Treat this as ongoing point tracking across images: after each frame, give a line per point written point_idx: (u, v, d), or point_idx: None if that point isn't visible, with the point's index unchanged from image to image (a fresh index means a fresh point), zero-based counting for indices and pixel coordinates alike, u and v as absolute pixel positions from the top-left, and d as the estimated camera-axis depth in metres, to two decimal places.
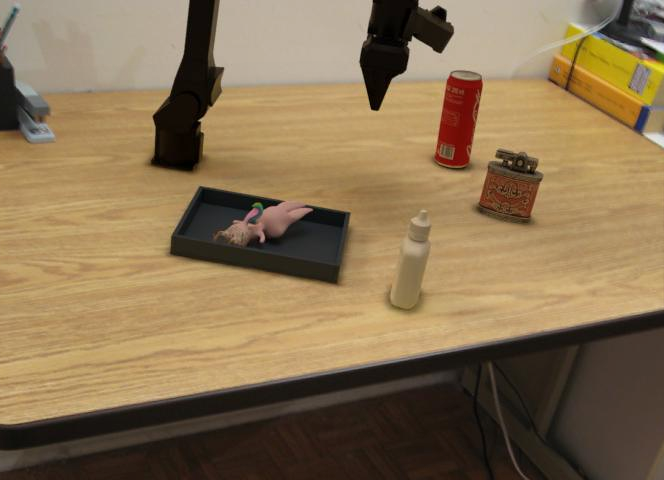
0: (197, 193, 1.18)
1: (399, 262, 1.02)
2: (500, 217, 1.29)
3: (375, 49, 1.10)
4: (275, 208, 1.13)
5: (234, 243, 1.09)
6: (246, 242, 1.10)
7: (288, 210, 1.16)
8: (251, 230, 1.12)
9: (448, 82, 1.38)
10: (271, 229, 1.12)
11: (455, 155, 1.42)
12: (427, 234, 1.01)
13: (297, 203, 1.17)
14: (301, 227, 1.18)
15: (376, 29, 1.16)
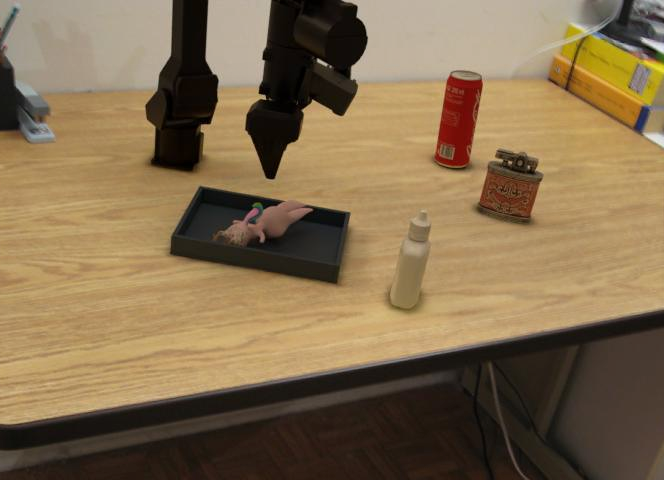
0: (197, 193, 1.18)
1: (399, 262, 1.02)
2: (500, 217, 1.29)
3: (262, 115, 0.97)
4: (275, 208, 1.13)
5: (234, 243, 1.09)
6: (246, 242, 1.10)
7: (288, 210, 1.16)
8: (251, 230, 1.12)
9: (448, 82, 1.38)
10: (271, 229, 1.12)
11: (455, 155, 1.42)
12: (427, 234, 1.01)
13: (297, 203, 1.17)
14: (301, 227, 1.18)
15: (268, 89, 1.02)
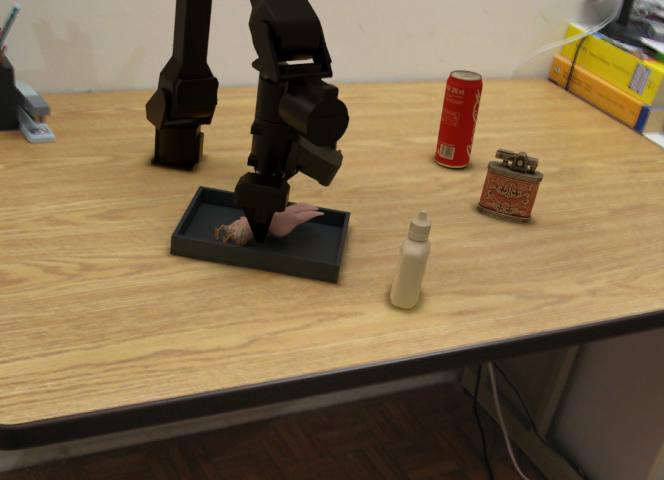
0: (197, 193, 1.18)
1: (399, 262, 1.02)
2: (500, 217, 1.29)
3: (249, 189, 1.01)
4: None
5: (233, 238, 1.10)
6: (246, 238, 1.11)
7: (297, 212, 1.15)
8: None
9: (448, 82, 1.38)
10: (275, 228, 1.13)
11: (455, 155, 1.42)
12: (427, 234, 1.01)
13: (309, 206, 1.17)
14: (301, 227, 1.18)
15: (256, 161, 1.06)
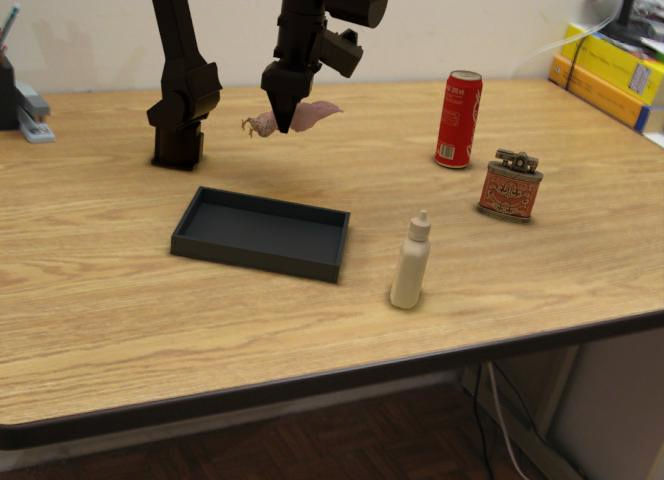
0: (197, 193, 1.18)
1: (399, 262, 1.02)
2: (500, 217, 1.29)
3: (276, 74, 1.07)
4: (305, 103, 1.20)
5: (258, 128, 1.17)
6: (271, 129, 1.18)
7: (319, 108, 1.22)
8: None
9: (448, 82, 1.38)
10: (298, 121, 1.19)
11: (455, 155, 1.42)
12: (427, 234, 1.01)
13: (330, 104, 1.23)
14: (301, 227, 1.18)
15: (282, 53, 1.13)
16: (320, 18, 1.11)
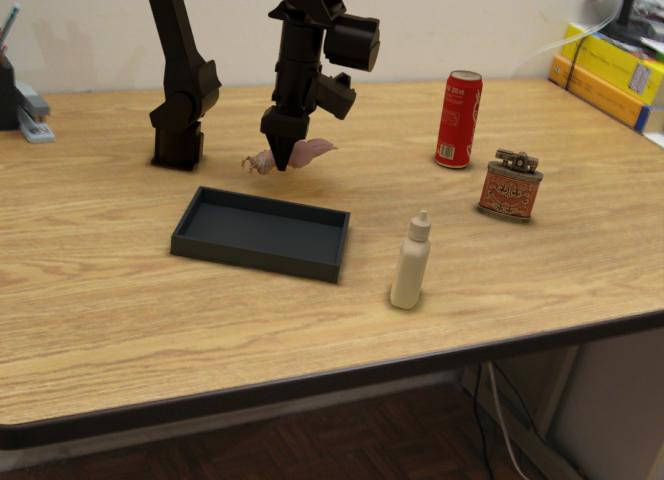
0: (197, 193, 1.18)
1: (399, 262, 1.02)
2: (500, 217, 1.29)
3: (274, 119, 1.14)
4: (301, 142, 1.27)
5: (258, 167, 1.24)
6: (269, 167, 1.25)
7: (315, 146, 1.29)
8: None
9: (448, 82, 1.38)
10: (295, 159, 1.26)
11: (455, 155, 1.42)
12: (427, 234, 1.01)
13: (325, 141, 1.30)
14: (301, 227, 1.18)
15: (279, 97, 1.20)
16: (315, 65, 1.18)
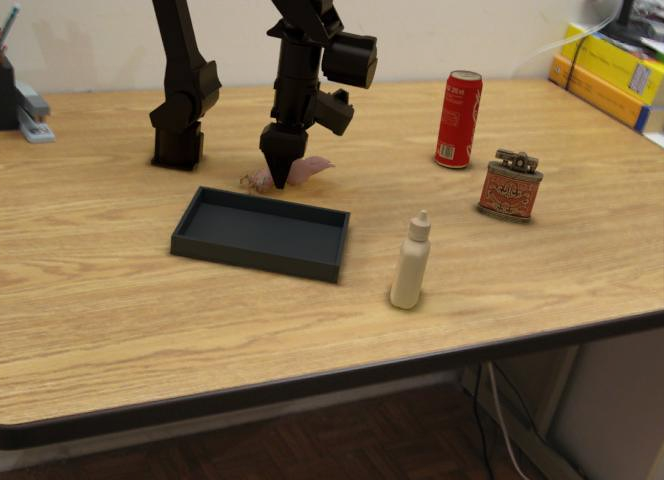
0: (197, 193, 1.18)
1: (399, 262, 1.02)
2: (500, 217, 1.29)
3: (273, 136, 1.15)
4: (299, 160, 1.28)
5: (256, 185, 1.25)
6: (267, 185, 1.26)
7: (312, 164, 1.30)
8: None
9: (448, 82, 1.38)
10: (292, 177, 1.28)
11: (455, 155, 1.42)
12: (427, 234, 1.01)
13: (322, 159, 1.31)
14: (301, 227, 1.18)
15: (278, 113, 1.21)
16: (313, 82, 1.19)
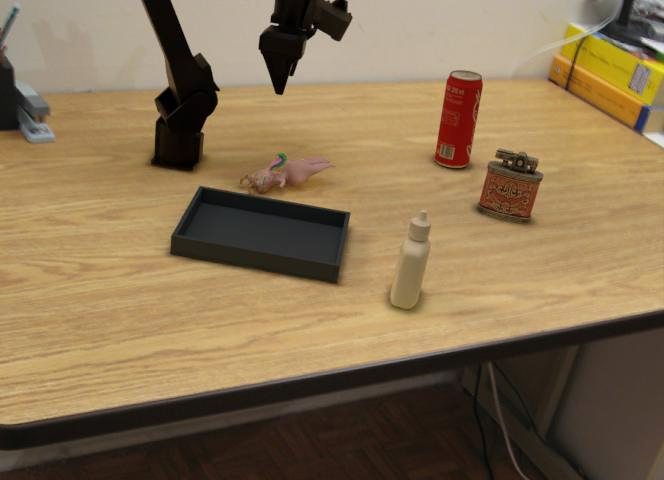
0: (197, 193, 1.18)
1: (399, 262, 1.02)
2: (500, 217, 1.29)
3: (272, 36, 1.19)
4: (299, 160, 1.28)
5: (256, 185, 1.25)
6: (267, 185, 1.26)
7: (312, 164, 1.30)
8: (274, 176, 1.27)
9: (448, 82, 1.38)
10: (292, 177, 1.28)
11: (455, 155, 1.42)
12: (427, 234, 1.01)
13: (322, 159, 1.31)
14: (301, 227, 1.18)
15: (278, 18, 1.24)
16: None
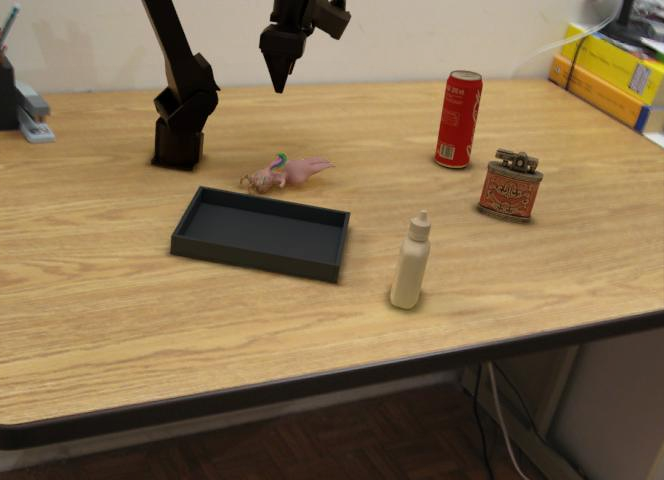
0: (197, 193, 1.18)
1: (399, 262, 1.02)
2: (500, 217, 1.29)
3: (272, 35, 1.19)
4: (299, 160, 1.28)
5: (256, 185, 1.25)
6: (267, 185, 1.26)
7: (312, 164, 1.30)
8: (274, 176, 1.27)
9: (448, 82, 1.38)
10: (292, 177, 1.28)
11: (455, 155, 1.42)
12: (427, 234, 1.01)
13: (322, 159, 1.31)
14: (301, 227, 1.18)
15: (277, 17, 1.25)
16: None
